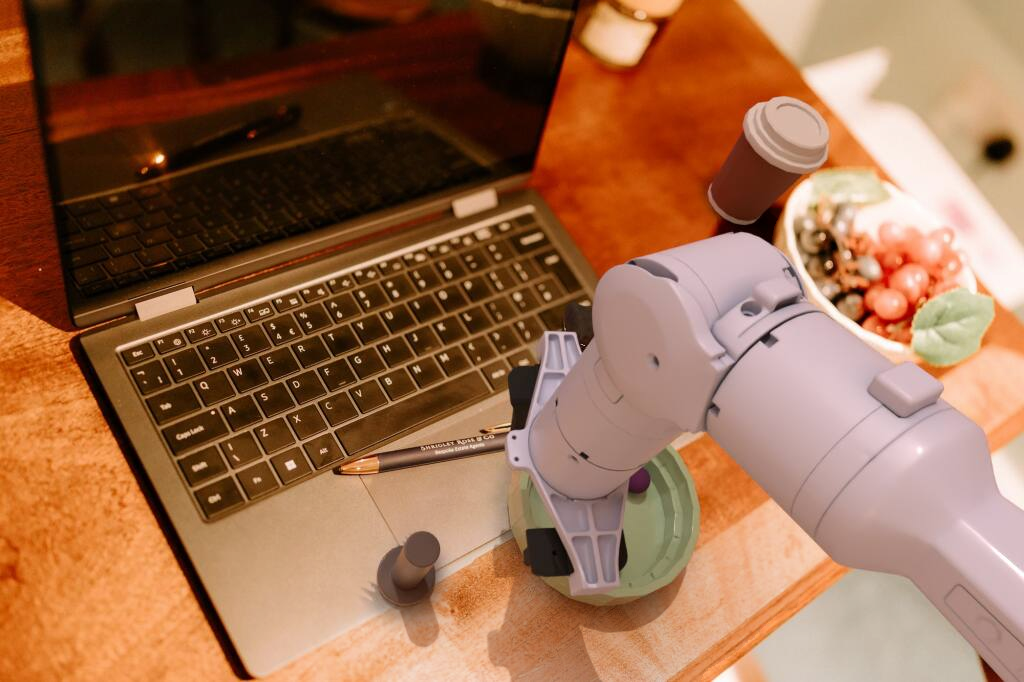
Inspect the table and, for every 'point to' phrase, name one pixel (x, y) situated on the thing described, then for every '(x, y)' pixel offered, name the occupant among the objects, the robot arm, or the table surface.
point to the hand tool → (579, 322)
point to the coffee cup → (769, 158)
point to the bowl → (629, 528)
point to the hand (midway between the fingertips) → (531, 498)
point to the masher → (409, 569)
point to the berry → (639, 481)
